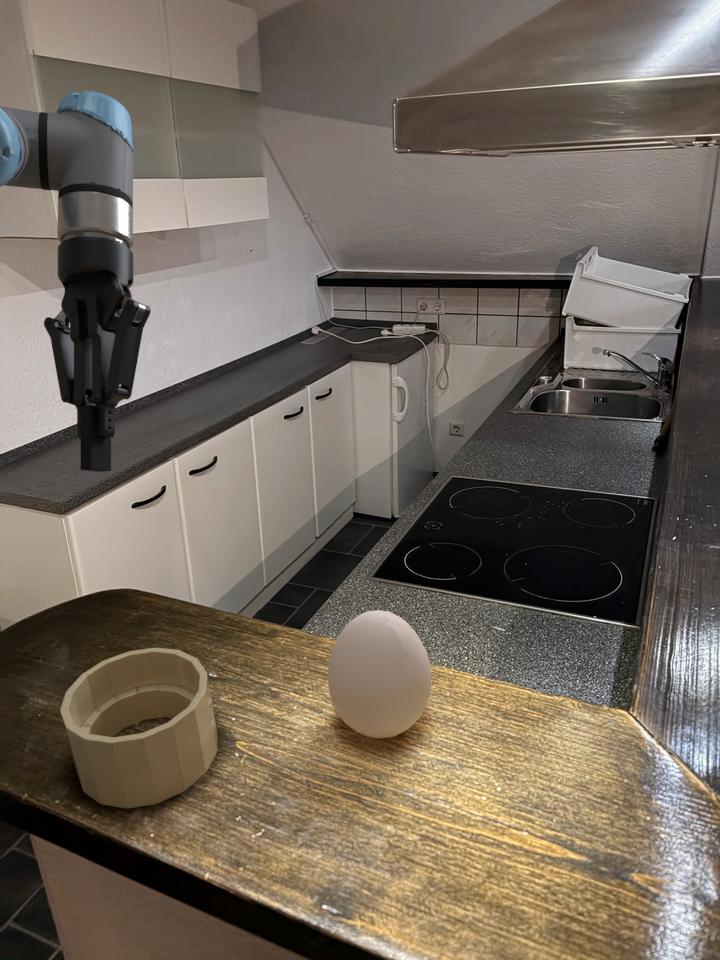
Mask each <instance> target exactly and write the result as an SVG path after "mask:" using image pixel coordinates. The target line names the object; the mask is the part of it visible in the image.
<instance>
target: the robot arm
mask: <svg viewBox="0 0 720 960" xmlns="http://www.w3.org/2000/svg"><path fill="white" fill-rule="evenodd" d="M134 150H135V149H134V142H133V123H132V120H131V116H130V113H129V112H128V110H127V109H126V107H125V106H124V105H123V104H122V103H120V102H119V101H118V100H117V99H115V98H113V97H111V96H109V95H107V94H105V93H101V92H96V91H90V90H84V91H83V92H82V93H79V92H76V91H74V92H70V93H68V94H65V96H63V97H62V98H61V99H60V101H59V103H58V109H57V110H56V113H55V112H49V111H47V112H44V111H34V110H27V109H21V108H16V107H15V108H14V107H9V106H4V105H0V188H1V187H3V186H4V187H13V188H26V189H35V190H37V189H38V190H43V191H56V192H57V194H58V195H57V229H56V232H57V233H56V236H57V240H58V241H59V243H60V244H59V245H58V247H57V277H58V280H59V281H60V282H61V285H62V286H63V288H64V293H63V297H62V299H61V303H60V308H61V310H60V312H59V313H58V314H57V315H56V316H55V317H54V318H53V317H49V316H47V317H45V319H44V320H43V327H44V328H45V330H46V332H47V335H48V336H49V338H50V342H51V343H50V344H51V349H52V355H53V360H54V365H55V371H56V377H57V383H58V388H59V389H58V390H59V394H60V395H59V396H60V399H61V401H62V403H66V404H69V405H72V406H74V407H75V408H76V424H77V425H76V434H77V435H76V436H77V438H78V439H80V471H88V472H97V473H98V472H100V473H103V472H111V471H112V438H114V437H115V434H116V407H117V406H118V404H119V403H120V402H122V401H123V400H129V399H130V398H132V394H133V388H134V382H135V377H136V370H137V365H138V360H139V355H140V354H139V353H140V349H141V343H142V337H143V332H144V328H145V326H146V323H147V321H148V319H149V317H150V315H151V313H152V311H151V307H150V306H149V305H147V304H144V303H141V302H139V301H137V300H135V299H133V293H132V291H131V290H130V288H131V287H132V286H133V284H134V253H133V251H132V250H131V249H132V248H133V246H134Z"/></svg>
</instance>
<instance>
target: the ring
mask: <svg viewBox="0 0 720 960" xmlns="http://www.w3.org/2000/svg"><path fill="white" fill-rule="evenodd" d="M59 713H60V716H61V720H62V725H63V727H64V731H65V735H66V739H67V742H68V745H69V749H70V754H71V758H72V761H73V764H74V767H75V772H76V775H77V778H78V780H79V783H80V786H81V789H82V791H83V793H84V794H85V795H87V796H88V797H90V798H91V799H93V800H94V801H95V802H97V803H99V804H100V805H103V806H108V807H109V806H110V807H115V808H119V809H120V808H121V809H134V808H140V807H146V806H153V805H157V804H159V803H162V802H164V801H166V800H168V799H171V798H173V797H176V796H177V795H179V794H181V793H184V792H185V791H187V790H188V789H189V788H190V787H192V785H194V784H195V783H196V782H197V781H198V780H199V779H201V777H203V776H204V775H205V774H206V773H207V771H208V769H209V768H210V766H211V764H212V762H213V761H214V759H215V757H216V755H217V754H218V753H217V752H218V729H217V725H216V718H215V711H214V707H213V700H212V694H211V689H210V683H209V677H208V672H207V671H206V669H205V667H204V666H203V664H202V663H201V662H200V660H199V659H198V658H197V657H195V656H193V655H190V654H188V653H186V652H184V651H182V650H180V649H173V648H165V647H150V648H149V647H148V648H143V649H136V650H135V649H134V650H129V651H125V652H124V653H120V654H117V655H115V656H112V657H110V658H107V659H104V660H101V662H98V663H96V665H94V666H92V667H91V668H89V669H88V670H86V671H85V672H83V673H81V674H80V676H79V677H78V678H77V679H76V680H75V681H74V682H73V683H72V684H71V686H70V687H69V688H68V689H67V690H66V691H65V693H64V697H63V700H62V703H61V706H60V711H59ZM162 718H166V719H170V720H169V721H168V722H165V723H163V724H161V725H157V726H155V727H154V728H151V729H149V730H146V731H144V732H140V733H133V734H127V735H120V736H116V735H117V734H119V733H120V732H121V731H123V730H124V729H125V728H128V727H131V726H133V725H136V724H138V723H140V722H142V721H147V720H148V721H149V720H154V719H155V720H156V719H162Z"/></svg>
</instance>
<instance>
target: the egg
mask: <svg viewBox="0 0 720 960" xmlns="http://www.w3.org/2000/svg"><path fill="white" fill-rule="evenodd" d="M327 684H328V692H329V696H330V699H331V703H332V705H333V708H334V710H335V711H336V712H337V714H338V716H339V717H340V719H341V720H342V721H343V722H344V723H345V724H346V725H347V726H349V728H351V729H352V730H353V731H355V732H356V733H358V734H360V735H363V736H365V737H368V738H372V739H378V740H380V739H387V738H394V737H397V736H398V735H400V734H403V733H405V732H406V731H407V730H409V729H411V728H412V726H414V725H415V724H416V722H417V721H418V720H419V719H420V718H421V716H422V715H423V713H424V711H425V709H426V707H427V705H428V703H429V700H430V696H431V690H432V668H431V664H430V660H429V655H428V652H427V650H426V648H425V646H424V644H423V642H422V640H421V638H420V637H419V635H418V634H417V632H416V631H415V629H414V628H413V627H412V626H411V625H410V624H409V623H408V622H407V620H405V619H403V617H402V618H401V617H400V616H399V615H397V614H395V613H392V612H391V611H387V610H381V609H376V610H368V611H365V612H362V613H361V614H359V615H357V616H356V617H354V618H352V619H351V620H350V621H349V622H348V623H347V624H346V625H345V626H344V628H343V629H342V631H341V632H340V633H339V635H338V636H337V638H336V641H335V642H334V645H333V648H332V650H331V653H330V656H329V660H328V668H327Z"/></svg>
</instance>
